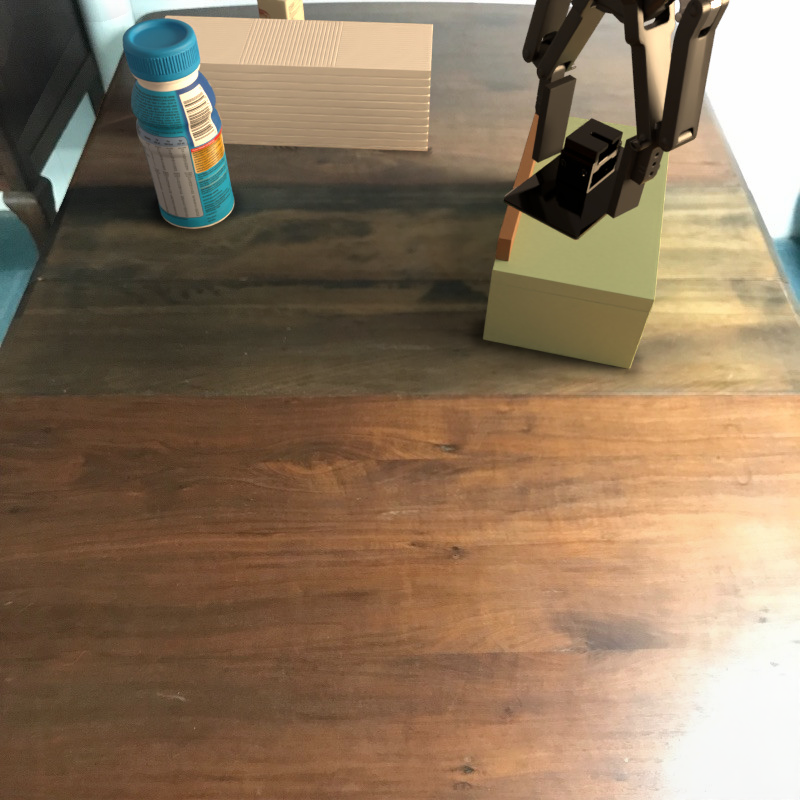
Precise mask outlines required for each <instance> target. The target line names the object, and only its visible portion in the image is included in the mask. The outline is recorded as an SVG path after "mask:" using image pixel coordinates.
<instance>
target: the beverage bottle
mask: <svg viewBox="0 0 800 800" xmlns="http://www.w3.org/2000/svg"><path fill="white" fill-rule="evenodd" d="M122 48H123V51H124V56H125V58H126V59H125V60H126V63H127V66H128V69H129V71H130V74H132V76H133V77H134V78H135V81H134V83H133V86H132V90H131V95H130V96H131V97H130V106H131V110H132V113H133V115H134V117H136V122H135V123H136V124H135V127H136V133H137V137H138V140H139V143H140V144H141V145H142V148H143V151H144V155H145V160H146V162H147V165H148V169H149V173H150V176H151V179H152V183H153V187H154V191H155V194H156V198H157V201H158V207H159V211H160V215H161V216H162V218H163V220H165V221H166V222H168V223H169V224H170V225H172V226H174V227H177V228H182V229H188V230H189V229H190V230H191V229H192V230H194V229H203V228H207V227H208V228H209V227H212V226H214V225H217V224H218V223H220V222H222V221H223V220H225V219H226V218H228V216H230V214H231V213H232V211H233V210H234V208H235V197H234V192H233V188H232V183H231V177H230V171H229V167H228V166H229V165H228V161H227V156H226V155H227V154H226V149H225V144H224V143H223V137H222V123H221V119H220V115H219V113H218V111H217V110H216V108H215V103H216V98H215V94H214V91H213V89H212V87H211V85H210V84H209V82H208V81H207V79H206V78H205V77H204V75H203V74H202V73H201V72H200V71H199V67H200V54H199V48H198V43H197V38H196V35H195V32H194V30H193V28H192V27H191V26H190V25H189V24H187V23H185V22H183V21H180V20H176V19H169V18H165V17H162V18H161V17H160V18H151V19H147V20H143V21H140V22H137V23H135V24H133V25H132V26H130V27H129V28H128V29H126V31H125V32H123V35H122Z"/></svg>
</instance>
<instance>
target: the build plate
mask: <svg viewBox="0 0 800 800" xmlns="http://www.w3.org/2000/svg"><path fill="white" fill-rule="evenodd" d="M600 121H601V120H597V119H595V118H593V117H591V118H590V119H589V120H588V121H587V122H586V123H584V124H583V125H582V126H580V127H579V128H578V129H576V130H575V131H574V132H572V133H571V134H570V135H568V136H567V137H566V139H565V144H564V148H563V149H562V150H561V154H560V155H558V156H557V157H556V158H555V159H553V160H552V161H551V162H549V163H548V164H547V165H545V166H544V167H543V168H542V169H540V170H539V171H538V172H536V173H535V174H534V175H532V176H531V177H530V178H528V179H527V180H526V181H525V182H523V183H522V184H521V185H519V186H518V187H515V188H514V189H513V188H512V189H513V190H512V189H511V190H510V191H509V192H507V193H506V194H505V195H504V196H503V200H502V201H503V203H504V204H505V205H506V206H508V205H509V206H511V207H513V208H515V209H517V210H519V211H521V212H522V213H524V214H526V215H528V216H530V217H532V218H534V219H536V220H538V221H539V222H541V223H543V224H545V225H547V226H549V227H551V228H553V229H555V230H556V231H558V232H560V233H562V234H564V235H566V236H568V237H570V238H572V239H573V240H579V239H580V238H581V237H582V236H583V235H584V234H586V233H587V232H588V231H589V230H590V229H591V228H592V227H594V226H595V225H596V224H597V223H598V222H599V221H600V220H602V219H603V218H604V217H605V216H606V215H607V214H606V213H607V210H608V206H609V202H610V198H611V195H612V191H613V187H614V184H615V180H616V176H617V172H618V169H619V165H620V161H621V157H622V154H623V150H624V147H622V146H621V145H622V141H621V139H622V135H623V132H622V131H620V130H617V129H615V128H613V127H611V126H608V125H606V124H604V123H602V122H603V121H602V122H600ZM659 168H660V166H659ZM658 170H659V169H658Z"/></svg>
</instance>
